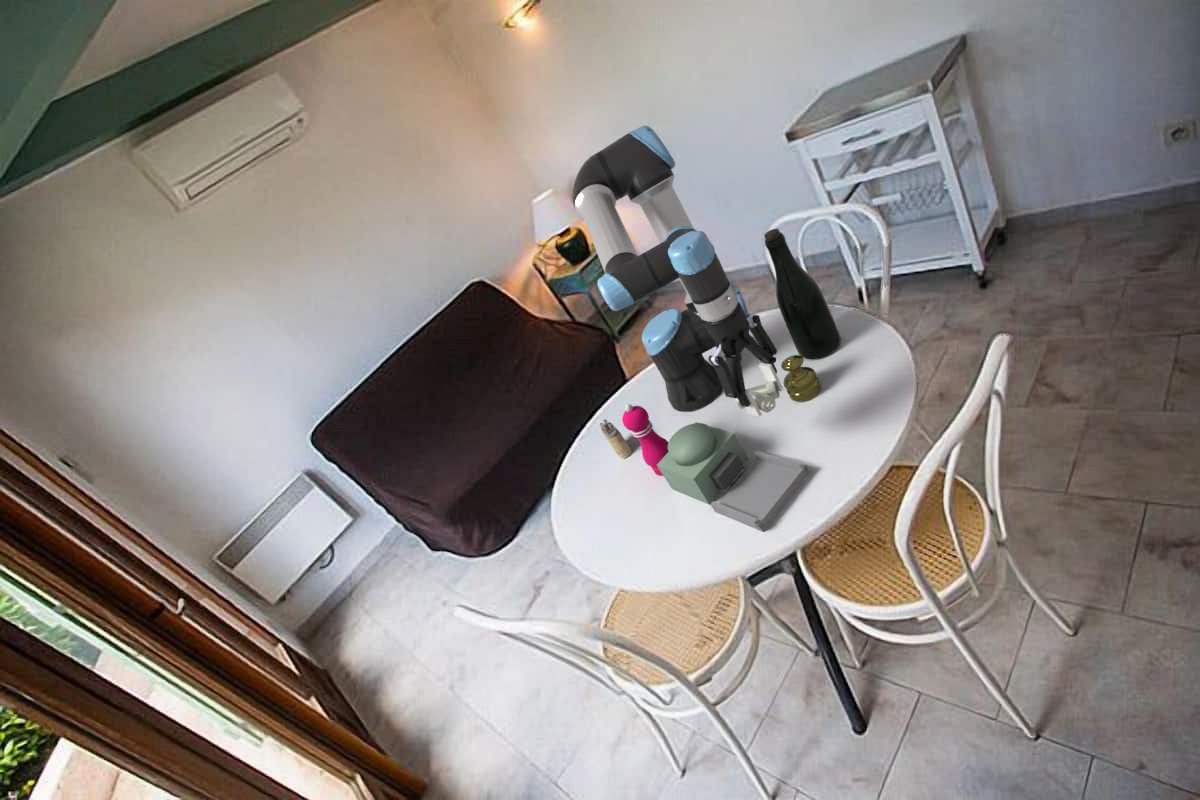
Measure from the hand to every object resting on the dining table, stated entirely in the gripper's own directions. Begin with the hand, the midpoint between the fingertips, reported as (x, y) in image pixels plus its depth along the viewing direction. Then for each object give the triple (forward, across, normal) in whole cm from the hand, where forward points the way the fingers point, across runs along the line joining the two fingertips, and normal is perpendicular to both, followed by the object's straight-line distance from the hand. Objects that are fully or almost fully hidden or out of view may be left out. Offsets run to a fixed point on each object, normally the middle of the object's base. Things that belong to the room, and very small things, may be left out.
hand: (766, 401), depth 130 cm
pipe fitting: (+1, -1, 0) cm, 1 cm away
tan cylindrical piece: (+13, -14, +43) cm, 47 cm away
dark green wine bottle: (+13, +32, +12) cm, 36 cm away
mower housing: (+13, -12, +12) cm, 22 cm away
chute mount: (+13, -13, -2) cm, 19 cm away
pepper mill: (+13, -14, +26) cm, 33 cm away
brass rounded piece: (+13, +16, +7) cm, 22 cm away
